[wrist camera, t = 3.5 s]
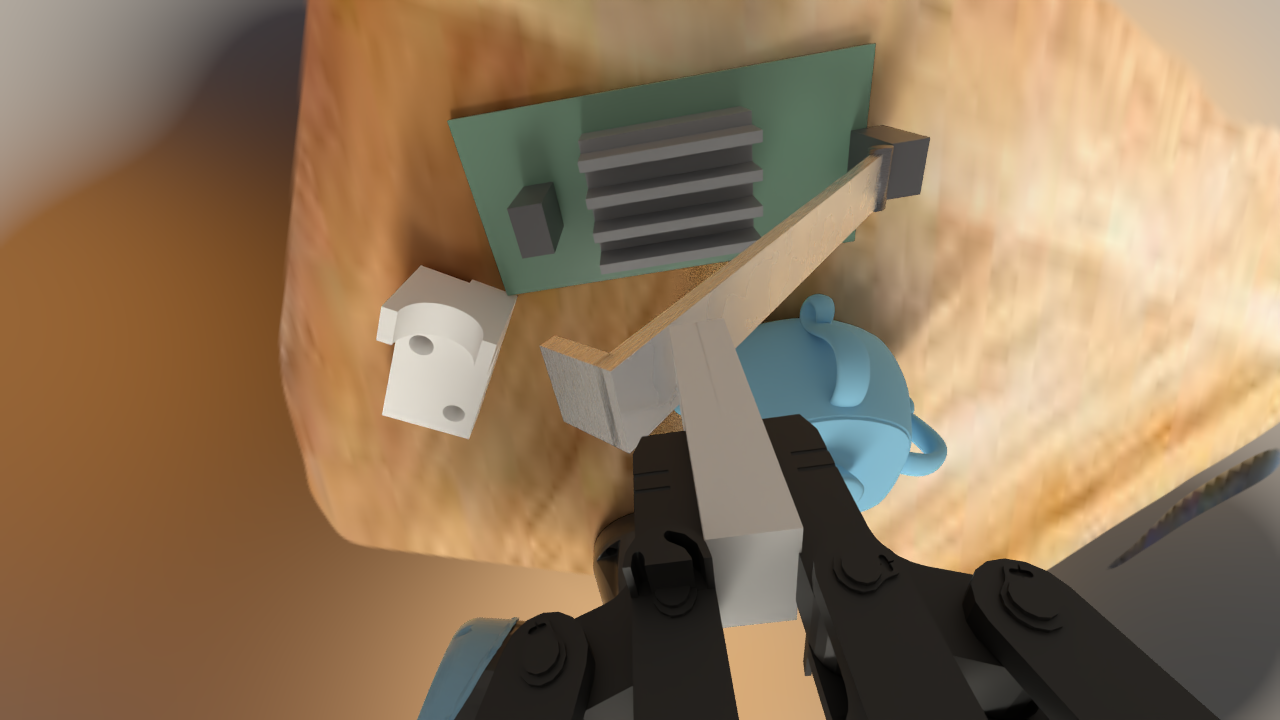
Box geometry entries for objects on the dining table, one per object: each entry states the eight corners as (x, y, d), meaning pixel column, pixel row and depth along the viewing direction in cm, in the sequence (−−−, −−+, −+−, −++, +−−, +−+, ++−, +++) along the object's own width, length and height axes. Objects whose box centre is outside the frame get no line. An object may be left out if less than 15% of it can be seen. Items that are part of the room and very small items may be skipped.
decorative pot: (742, 466, 47) (781, 595, 36) (652, 363, 40) (666, 486, 29) (896, 388, 42) (998, 510, 31) (827, 255, 35) (927, 351, 24)
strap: (833, 202, 28) (887, 205, 26) (565, 426, 14) (639, 462, 13) (838, 145, 26) (896, 144, 24) (537, 339, 13) (618, 368, 11)
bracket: (425, 260, 34) (381, 306, 28) (518, 294, 36) (496, 345, 30) (399, 388, 41) (358, 450, 34) (479, 412, 42) (454, 474, 36)
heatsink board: (863, 235, 34) (906, 267, 29) (509, 291, 36) (490, 331, 30) (886, 40, 28) (948, 36, 22) (451, 119, 29) (414, 132, 24)
